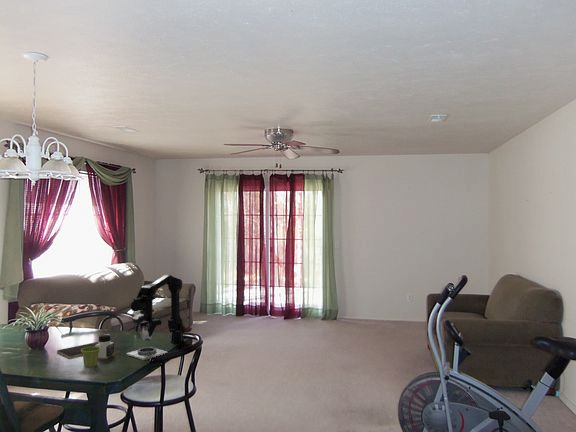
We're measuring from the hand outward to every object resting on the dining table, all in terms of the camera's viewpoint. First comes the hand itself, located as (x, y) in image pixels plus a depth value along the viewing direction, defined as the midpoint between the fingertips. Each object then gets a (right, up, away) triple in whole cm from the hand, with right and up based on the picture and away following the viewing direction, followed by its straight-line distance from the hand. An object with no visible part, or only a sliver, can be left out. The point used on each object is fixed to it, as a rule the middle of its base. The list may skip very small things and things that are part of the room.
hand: (147, 336), depth 254 cm
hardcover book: (-38, -11, +5) cm, 40 cm away
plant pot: (-23, -10, -20) cm, 32 cm away
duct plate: (0, -10, 0) cm, 10 cm away
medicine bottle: (-22, -10, -4) cm, 25 cm away
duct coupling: (0, -2, 0) cm, 2 cm away
